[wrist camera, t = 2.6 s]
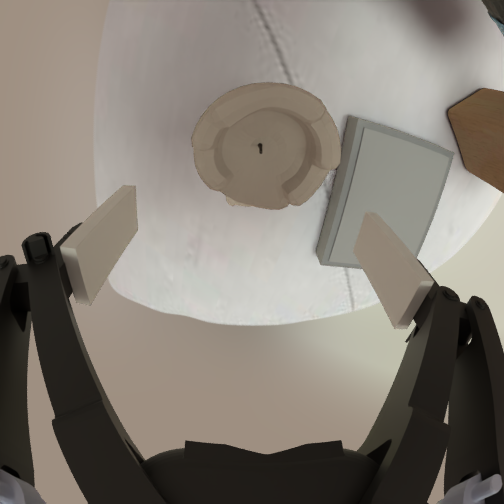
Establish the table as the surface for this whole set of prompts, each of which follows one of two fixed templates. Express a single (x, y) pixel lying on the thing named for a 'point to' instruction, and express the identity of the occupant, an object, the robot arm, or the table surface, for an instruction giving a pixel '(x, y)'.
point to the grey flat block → (382, 189)
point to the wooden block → (481, 134)
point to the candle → (266, 145)
